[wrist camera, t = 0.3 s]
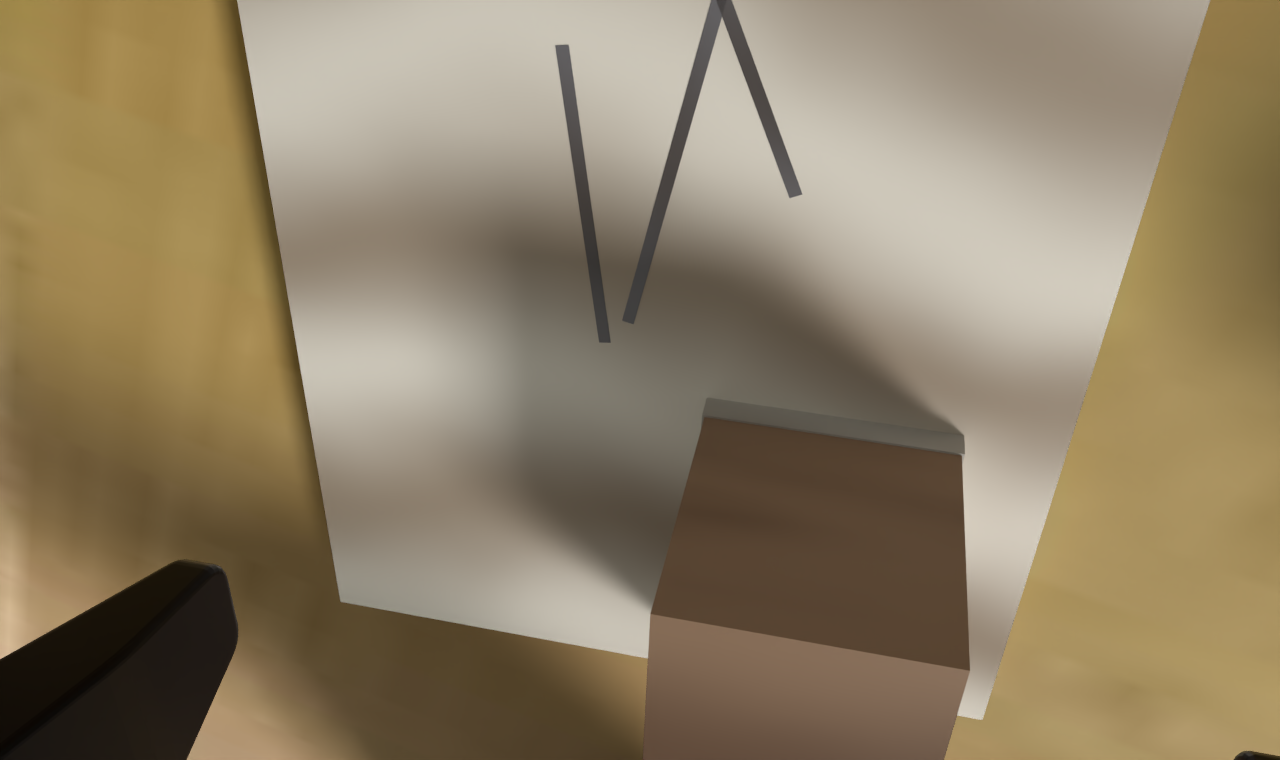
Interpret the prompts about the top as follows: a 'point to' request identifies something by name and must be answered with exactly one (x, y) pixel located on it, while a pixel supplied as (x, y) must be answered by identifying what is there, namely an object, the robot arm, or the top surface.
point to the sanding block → (811, 593)
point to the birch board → (689, 266)
